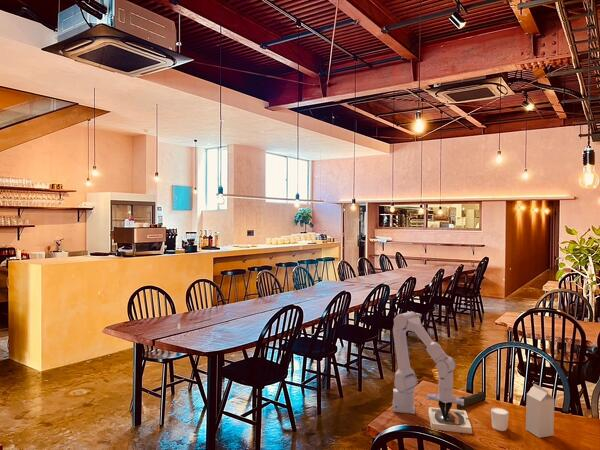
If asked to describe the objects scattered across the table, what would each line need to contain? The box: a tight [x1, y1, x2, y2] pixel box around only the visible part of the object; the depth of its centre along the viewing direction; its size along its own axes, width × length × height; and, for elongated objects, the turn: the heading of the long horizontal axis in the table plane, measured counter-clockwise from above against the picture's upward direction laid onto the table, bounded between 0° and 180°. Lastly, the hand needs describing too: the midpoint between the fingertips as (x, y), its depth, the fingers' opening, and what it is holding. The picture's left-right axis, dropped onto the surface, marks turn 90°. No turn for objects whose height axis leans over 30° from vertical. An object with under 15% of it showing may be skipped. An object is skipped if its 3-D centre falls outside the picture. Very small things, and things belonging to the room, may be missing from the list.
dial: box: [435, 411, 464, 425], centre depth 187 cm, size 12×12×4 cm
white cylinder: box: [490, 407, 510, 432], centre depth 183 cm, size 7×7×7 cm
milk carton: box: [525, 383, 555, 439], centre depth 179 cm, size 7×7×19 cm
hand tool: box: [456, 391, 487, 410], centre depth 205 cm, size 19×4×5 cm, turn 121°
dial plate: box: [427, 406, 473, 435], centre depth 188 cm, size 16×16×2 cm
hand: (445, 418), depth 184 cm, fingers closed
